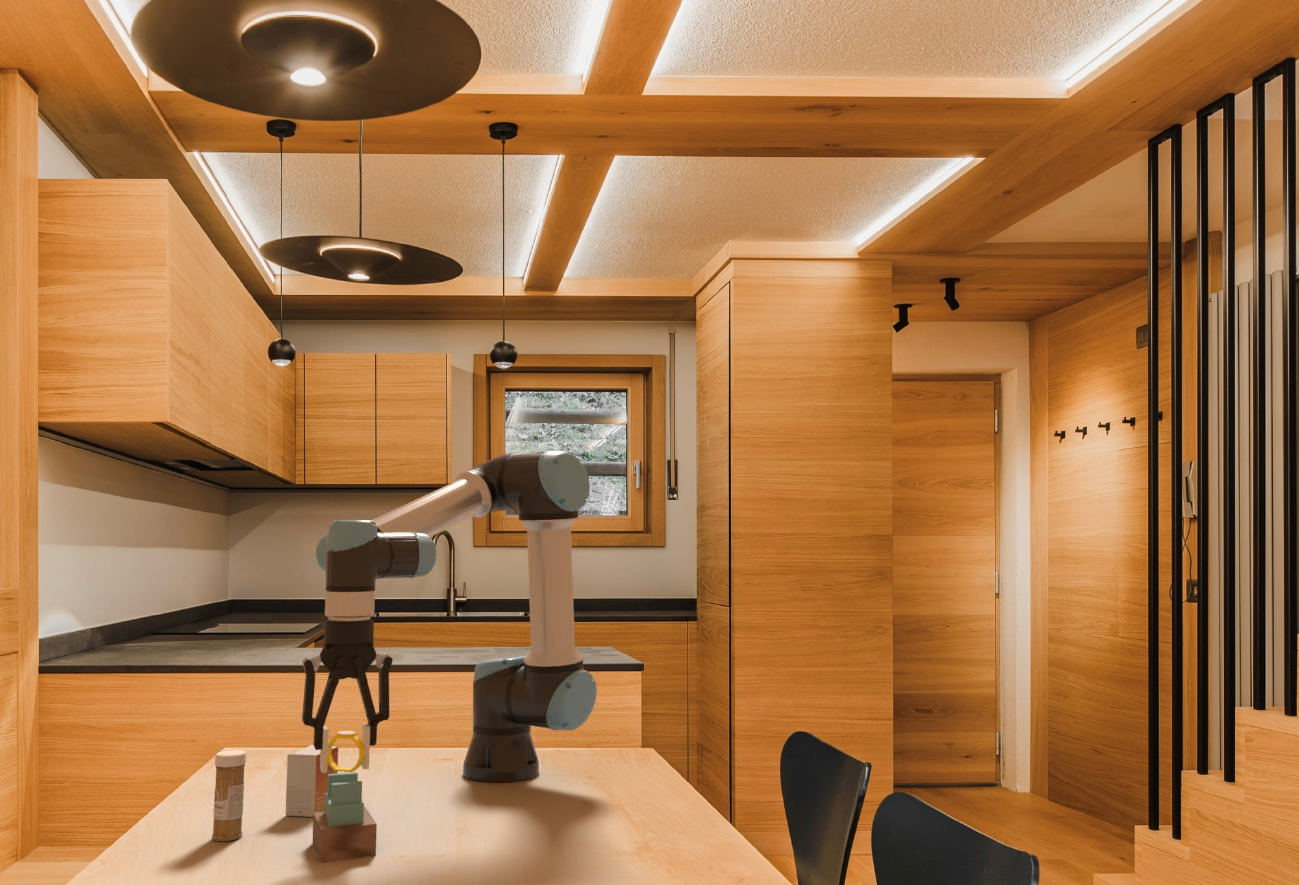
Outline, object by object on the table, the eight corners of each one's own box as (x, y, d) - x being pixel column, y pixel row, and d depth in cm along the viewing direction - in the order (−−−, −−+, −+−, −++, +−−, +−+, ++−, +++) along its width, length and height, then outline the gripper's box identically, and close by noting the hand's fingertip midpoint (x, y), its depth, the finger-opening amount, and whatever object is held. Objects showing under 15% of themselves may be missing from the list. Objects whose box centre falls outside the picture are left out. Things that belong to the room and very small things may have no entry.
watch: (365, 771, 159) (369, 733, 159) (357, 775, 156) (361, 736, 157) (329, 766, 160) (334, 728, 160) (321, 770, 157) (325, 731, 158)
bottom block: (364, 839, 163) (365, 807, 164) (375, 857, 154) (376, 823, 155) (312, 845, 160) (313, 812, 160) (320, 864, 151) (321, 830, 151)
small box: (314, 818, 174) (316, 755, 175) (284, 816, 175) (286, 753, 176) (337, 806, 182) (339, 745, 182) (308, 804, 183) (310, 744, 184)
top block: (357, 809, 162) (358, 771, 163) (363, 823, 155) (364, 783, 156) (324, 812, 161) (326, 773, 161) (329, 826, 153) (330, 786, 154)
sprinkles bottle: (206, 838, 162) (210, 752, 163) (233, 832, 166) (237, 747, 167) (220, 844, 159) (224, 756, 160) (248, 837, 163) (251, 751, 164)
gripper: (404, 614, 167) (400, 758, 165) (285, 617, 160) (279, 769, 158) (413, 618, 160) (409, 769, 159) (289, 622, 153) (283, 780, 151)
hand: (344, 768), depth 158 cm, fingers closed on watch, 5 cm apart
